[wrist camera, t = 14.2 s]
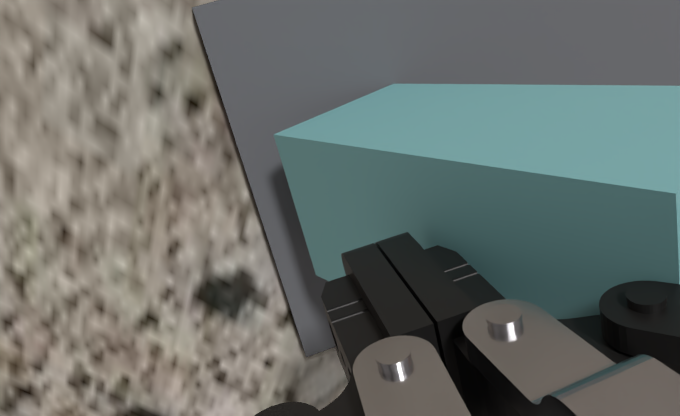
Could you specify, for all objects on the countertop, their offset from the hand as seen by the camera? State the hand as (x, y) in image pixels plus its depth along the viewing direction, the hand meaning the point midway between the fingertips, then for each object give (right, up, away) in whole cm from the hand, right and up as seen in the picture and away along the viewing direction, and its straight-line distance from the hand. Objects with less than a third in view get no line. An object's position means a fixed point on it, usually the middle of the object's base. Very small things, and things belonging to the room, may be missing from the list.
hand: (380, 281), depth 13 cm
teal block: (0, +3, +5) cm, 6 cm away
